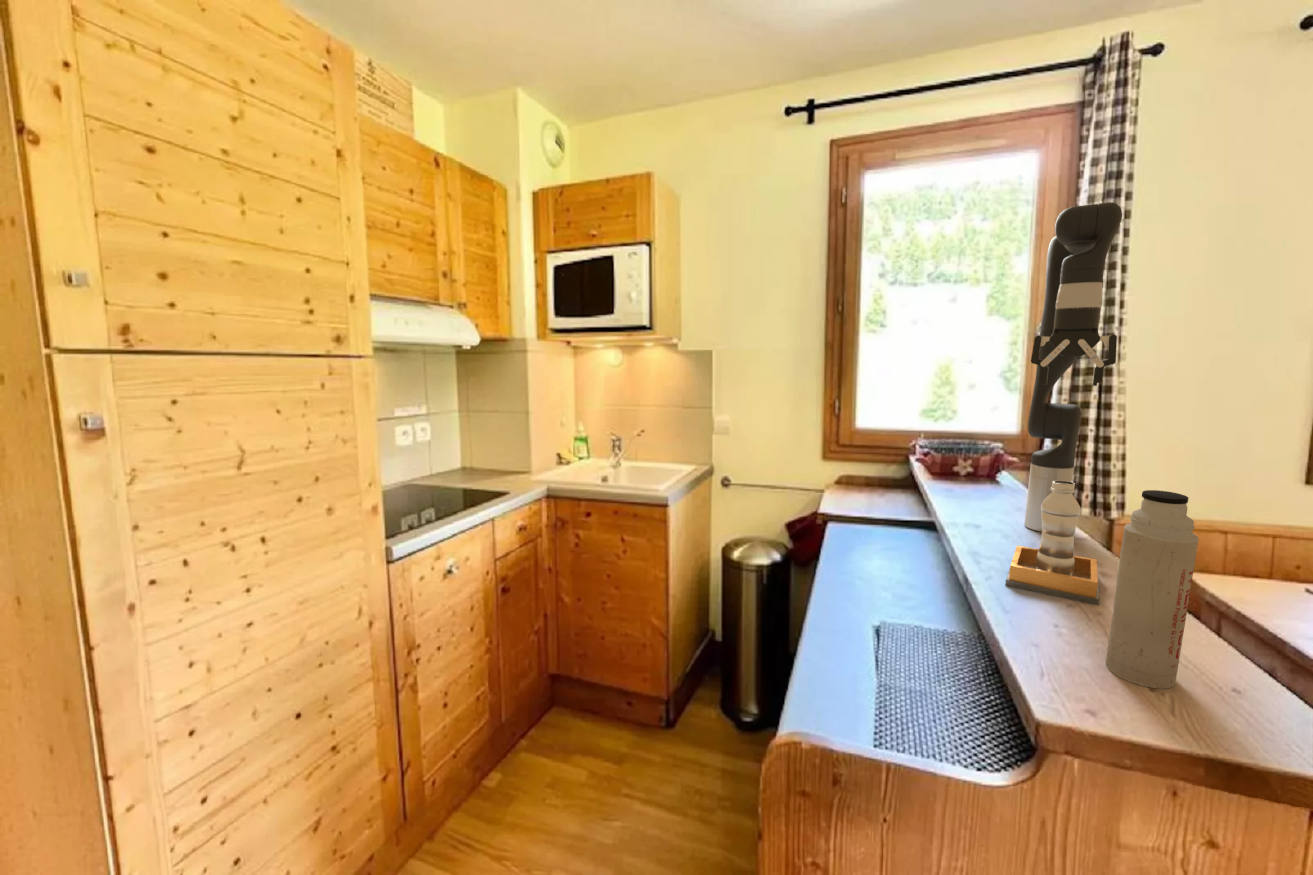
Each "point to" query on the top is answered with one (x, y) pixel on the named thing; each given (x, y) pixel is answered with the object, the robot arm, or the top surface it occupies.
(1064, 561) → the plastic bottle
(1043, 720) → the top surface
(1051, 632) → the top surface
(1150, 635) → the thermos bottle
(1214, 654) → the top surface
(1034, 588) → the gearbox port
